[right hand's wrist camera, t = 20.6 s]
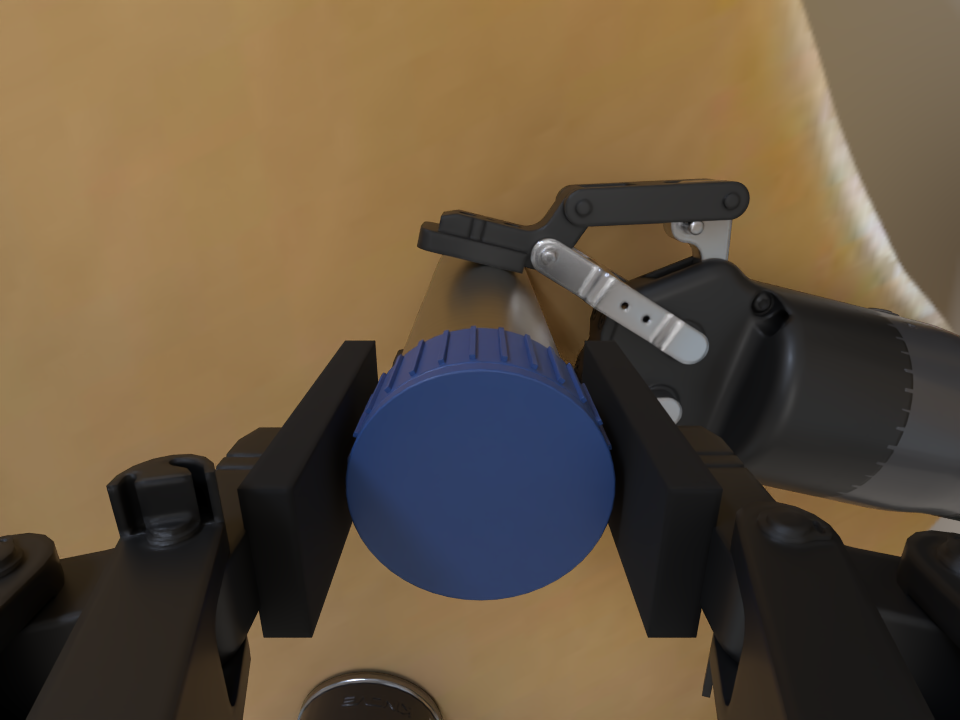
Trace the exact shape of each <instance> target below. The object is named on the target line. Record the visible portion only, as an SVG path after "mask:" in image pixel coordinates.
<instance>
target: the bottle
mask: <svg viewBox="0 0 960 720" xmlns="http://www.w3.org/2000/svg"><path fill="white" fill-rule="evenodd" d="M471 326H476V328H490V329H498V328H499V327H503V328H504V330H505V331H510V332H514V333H517V334H520V335H523V336H525V334H528V335H530V337H531V339H532V340H534V341H536V342H538V343H540V344H542V345H543V346H545V347H546V348H548V347H549V346H550V347H552V348H553V349H554V352H555V354H556V355H557V356H558V357H559V358H560V355H559V353H558V350H557V348H556V345H555V343H554V340H553V338H552V335H551V333H550V330H549V328H548V325H547V323H546V320H545V318H544V315H543V312H542V310H541V307H540V305H539V302H538V300H537V297H536V295H535V292H534V290H533V287H532V285H531V282H530V280H529V277H528V275H527V272H526V270H525V267H524V269H523V273H522V274H521V273H517V272H513V271H508V270H504V269H501V268H497V267H493V266H488V265H484V264H479V263H475V262H471V261H467V260H463V259H459V258H455V257H450V256H446V255H443V256H442V257H441V259H440V260H439V262H438V264H437V267H436V270H435V272H434V275H433V277H432V280H431V282H430V285H429V287H428V290H427V292H426V295H425V297H424V300H423V302H422V305H421V307H420V310H419V312H418V315H417V318H416V320H415V323H414V325H413V328H412V330H411V333H410V335H409V338H408V340H407V343H406V345H405V348H404V350H403V353H402V355H403V356H404V355H405V354H406V353H408V352H409V351H410V350H412V349H413V348H415V347H416V346H418V343H419V341H421V340H424V341H427V340H429V339H431V338H433V337H435V336H438V335H441V334H443V332H444V331H445V330H449V332H451V331H456V330H462V329H471Z"/></svg>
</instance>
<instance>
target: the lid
mask: <svg viewBox="0 0 960 720" xmlns="http://www.w3.org/2000/svg"><path fill="white" fill-rule="evenodd" d="M602 424H603V422H602V420H601V418H600V416H599V413H598V411H597V409H596V407H595V405H594V403H593V400H592V398H591V396H590V394H589V392H588V389H587V387H586V385H585V383H582V384H580V382H579V380H578V378H577V375H576V373H575V371H574V369H573V366H572V365H571V364H570V363H568V364H567V365H566V363H565V362H564V361H563V360H562V359H561V358H559V357H558V356H557V355H556V354H555V352H554V349H553V348H552V347H550V346H549V347H548V348H546V347H545V346H543V345H542V344H540V343H538V342H536V341H534V340H532V339H531V337H530V335H528V334H525V336H523V335H520V334H517V333H514V332H510V331H505V330H504V328H503V327H499V328H498V329H490V328H476V326H471V329H462V330H456V331H451V332H449V330H445V331H444V332H443V334H441V335H438V336H435V337H433V338H431V339H429V340H427V341H424V340H421V341H419V343H418V346H416V347H415V348H413V349H412V350H410V351H409V352H408V353H406V354H405V355H404V356H403V355H402V354H400V355H399V356H398V357H397V360H396V362H395V364H394V366H393V367H392V368H391V369H390V370H389V372H388V373H387V374H385V373H383V374H382V375H381V377H380V380H379V382H378V384H377V386H376V388H375V391H374V393H373V394H371V396H370V399H369V401H368V403H367V405H366V407H365V410H364V412H363V414H362V416H361V418H360V420H359V423H358V425H357V427H356V429H355V431H354V434H353V437H355V438H356V440H355V442H354V445H353V447H352V449H351V451H350V454H349V456H348V459H347V463H348V464H347V472H346V497H347V503H348V508H349V512H350V514H351V517H352V520H353V523H354V526H355V528H356V530H357V532H358V533H359V535H360V537H361V539H362V540H363V542H364V543H365V545H366V546H367V548H368V549H369V550H370V551H371V553H372V554H373V555H374V556H375V557H376V558H377V559H378V560H379V561H380V562H381V563H382V564H383V565H384V566H386V567H387V568H388V569H389V570H390V571H391V572H393V573H394V574H396V575H397V576H399V577H400V578H402V579H403V580H405V581H407V582H409V583H411V584H413V585H415V586H417V587H419V588H422V589H424V590H427V591H429V592H432V593H435V594H439V595H443V596H447V597H452V598H458V599H465V600H497V599H503V598H510V597H515V596H518V595H522V594H526V593H529V592H532V591H534V590H537V589H540V588H542V587H544V586H546V585H548V584H550V583H552V582H554V581H556V580H558V579H559V578H561V577H562V576H564V575H565V574H567V573H568V572H570V571H571V570H572V569H573V568H574V567H576V566H577V565H578V564H579V563H580V562H581V561H582V560H583V559H584V558H585V557H586V556H587V555H588V554H589V553H590V552H591V551H592V549H593V548H594V546H595V545H596V544H597V542H598V541H599V539H600V538H601V536H602V534H603V532H604V530H605V528H606V526H607V524H608V521H609V518H610V515H611V512H612V509H613V504H614V498H615V483H616V478H615V470H614V463H613V460H612V456H611V453H610V450H612V447H611V444H610V441H609V439H608V437H607V435H606V432H605V430H604V428H603V426H602Z"/></svg>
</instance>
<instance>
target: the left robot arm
mask: <svg viewBox="0 0 960 720" xmlns="http://www.w3.org/2000/svg"><path fill="white" fill-rule="evenodd" d="M749 199H750V197H749V192H748V189H747V188H746V187H745V186H744V185H743V184H742V183H739V182H734V181H724V180H714V179H686V180H665V181H643V182H622V183H601V184H580V185H568V186H566V187H564V188H562V189H561V190H560V191H559V193H558V194H557V197H556V201H555V202H554V204H553V205H552V207H551V208H550V209H549V211H548V212H547V214H546V215H545V217H544V218H543V219H542V220H541V221H540V222H538V223H536V224H534V225H530V226H523V225H518V224H514V223H510V222H506V221H502V220H498V219H494V218H490V217H486V216H482V215H478V214H474V213H470V212H466V211H462V210H453V211H446V212H443V214H442V216H441V220H440V224H438V223H433V222H424V223H423V224H422V225H421V229H420V234H419V239H418V244H417V247H419V248H421V249H423V250H426V251H430V252H434V253H438V254H442V255H446V256H450V257H455V258H459V259H463V260H467V261H471V262H475V263H479V264H484V265H488V266H493V267H497V268H501V269H504V270H508V271H513V272H517V273H521V274H522V273H523V269H524V267H527V268H531V269H535V270H537V271H538V272H540V273H541V274H543V275H544V276H546V277H548V278H549V279H551V280H553V281H554V282H556V283H557V284H559V285H561V286H562V287H564V288H566V289H567V290H569V291H570V292H572V293H574V294H575V295H577V296H578V297H580V298H581V299H582V300H584V301H585V302H586V303H587V304H589V305H590V306H592V307H593V312H592V315H591V318H590V336H589V340H588V341H615V342H616V343H617V344H618V346H619V347H620V348H621V350H622V351H623V353H624V354H625V355H626V357H627V358H628V359H629V361H630V362H631V363H632V365H633V366H634V368H635V369H636V370H637V372H638V373H639V374H640V376H641V377H642V379H643V380H644V381H645V383H646V384H647V385H648V387H649V388H650V390H651V391H652V392H653V394H654V395H655V396H656V398H657V399H658V400H659V402H660V403H661V405H662V406H663V407H664V409H665V410H666V411H667V413H668V414H669V416H670V417H671V418H672V420H673V421H674V422H675V424H676V425H677V426H702V427H704V428H705V429H707V430H709V431H711V432H712V433H714V434H716V435H717V436H719V437H721V438H722V439H723V440H724V442H725V443H726V444H727V445H728V446H729V447H730V449H731V450H732V451H733V452H734V455H736V456H737V457H738V458H739V459H740V460H741V461H742V463H743V464H744V468H748V470H749V471H750V472H751V473H752V474H753V475H754V477H755V478H756V479H757V480H758V481H759V482H760V484H761V485H765V486H770V487H774V488H779V489H784V490H788V491H793V492H798V493H803V494H807V495H812V496H816V497H821V498H826V499H830V500H835V501H840V502H844V503H849V504H853V505H858V506H862V507H867V508H873V509H879V510H887V511H897V512H915V513H924V514H931V515H934V516H939V517H943V518H948V519H953V520H957V521H960V336H959V335H957V334H954V333H952V332H949V331H947V330H944V329H942V328H939V327H937V326H933V325H930V324H927V323H923V322H919V321H915V320H911V319H907V318H904V317H900V316H899V315H897V314H895V313H892V312H891V311H888V310H883V309H877V308H864V307H860V306H856V305H852V304H848V303H844V302H839V301H835V300H831V299H827V298H823V297H819V296H815V295H811V294H807V293H803V292H799V291H795V290H791V289H787V288H783V287H779V286H775V285H771V284H767V283H763V282H759V281H755V280H752V279H749V278H748V277H747V276H746V275H744V274H743V272H742V271H741V270H740V269H739V268H738V267H737V266H736V265H735V264H733V263H731V262H730V261H728V254H729V245H730V236H731V227H732V219H735V218H738V217H739V216H741V215H742V214H743V213H744V212H745V210H746V209H747V207H748V204H749ZM655 223H663V227H664V230H665V232H666V234H667V235H668V236H670V237H671V238H673V239H676V240H678V241H680V242H684V243H688V244H689V245H690V247H691V249H692V253H693V256H691V257H688V258H686V259H683V260H681V261H678V262H676V263H673V264H671V265H668V266H665V267H663V268H660V269H658V270H655V271H653V272H650V273H648V274H645V275H642V276H640V277H637V278H635V279H632V280H630V281H628V280H626V279H625V278H623V277H622V276H620V275H618V274H617V273H615V272H614V271H612V270H611V269H609V268H607V267H606V266H604V265H603V264H601V263H600V262H598V261H596V260H595V259H593V258H591V257H590V256H588V255H586V254H584V253H583V252H581V251H580V250H578V249H576V248H575V247H574V245H575V244H576V243H577V241H578V240H579V239H580V237H581V236H582V234H583V233H584V232H585V230H586V229H587V227H589V226H611V225H633V224H655ZM403 350H404V349H402V350H399V351H398V353H397V355H396V357H395V360H394V362H393V366H394V364H395V362H396V360H397V357H398V356H399V355H400V354H402V353H403ZM583 359H584V347H583V349H582V350H581V352H580V354H579V355H578V358H577V361H576V364H575V366H573V369H574V371H575V373H576V375H577V378H578V380H579V382H580V384H582V374H583ZM298 720H442V718H441V714H440V711H439V709H438V707H437V706H436V704H435V702H434V701H433V700H432V699H431V697H430V696H429V695H428V694H427V693H425V692H424V691H423V690H422V689H420V688H419V687H418V686H416V685H414V684H413V683H411V682H409V681H407V680H404V679H402V678H399V677H396V676H393V675H389V674H384V673H377V672H356V673H349V674H344V675H340V676H337V677H334V678H332V679H329V680H327V681H325V682H323V683H322V684H320V685H319V686H317V687H316V688H315V689H314V690H313V691H312V692H311V693H310V694H309V695H308V696H307V698H306V699H305V701H304V703H303V705H302V707H301V710H300V713H299V716H298Z"/></svg>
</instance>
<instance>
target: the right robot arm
mask: <svg viewBox="0 0 960 720" xmlns="http://www.w3.org/2000/svg"><path fill="white" fill-rule="evenodd" d="M582 383H585V385H586V387H587V389H588V392H589V394H590V396H591V398H592V400H593V403H594V405H595V407H596V409H597V411H598V413H599V416H600V418H601V420H602V422H603V424H602V426H603V428H604V430H605V432H606V435H607V437H608V439H609V441H610V444H611V447H612V450H610V453H611V456H612V460H613V463H614V470H615V478H616V483H615V498H614V504H613V509H612V512H611V515H610V518H609V521H608V524H609V527H610V530H611V533H612V536H613V539H614V541H615V544H616V547H617V550H618V553H619V556H620V559H621V561H622V564H623V567H624V570H625V573H626V576H627V579H628V582H629V584H630V587H631V590H632V593H633V596H634V599H635V602H636V604H637V607H638V610H639V613H640V616H641V619H642V622H643V625H644V627H645V630H646V633H647V636H648V638H696V636H697V631H698V625H699V620H700V614H701V609H702V610H703V612H704V614H705V616H706V618H707V620H708V622H709V624H710V626H711V628H712V630H713V632H714V633H713V638H712V643H711V648H710V653H709V659H708V664H707V669H706V674H705V679H704V685H703V692H702V696H705V697H709V698H710V694H711V690H712V685H713V689H714V697H715V704H716V711H717V719H718V720H960V534H957V533H949V532H941V531H933V530H930V531H922V532H916V533H914V534H913V535H912V536H910V537H909V538H908V539H907V541H906V544H905V547H904V550H903V553H902V556H901V557H899V556H893V555H888V554H883V553H878V552H873V551H868V550H863V549H858V548H853V547H849V546H846V545H844V544H843V542H842V540H841V538H840V537H839V535H838V534H837V533H836V532H835V531H834V529H833V528H832V527H831V526H830V525H829V524H828V523H826V522H825V521H823V520H822V519H820V518H819V517H817V516H816V515H814V514H812V513H810V512H807V511H805V510H803V509H800V508H798V507H796V506H791V505H787V504H783V503H779V502H776V501H775V500H774V499H773V498H772V496H771V495H770V494H769V493H768V492H767V491H766V489H765V488H764V487H763V486H762V485H761V484H760V482H759V481H758V480H757V479H756V478H755V477H754V475H753V474H752V473H751V472H750V471H749V470H748V468H744V464H743V463H742V461H741V460H740V459H739V458H738V457H737V456H736V455H734V452H733V451H732V450H731V449H730V447H729V446H728V445H727V444H726V443H725V442H724V440H723V439H722V438H721V437H719V436H717V435H716V434H714V433H712V432H711V431H709V430H707V429H705V428H704V427H702V426H677V425H676V424H675V422H674V421H673V420H672V418H671V417H670V416H669V414H668V413H667V411H666V410H665V409H664V407H663V406H662V405H661V403H660V402H659V400H658V399H657V398H656V396H655V395H654V394H653V392H652V391H651V390H650V388H649V387H648V385H647V384H646V383H645V381H644V380H643V379H642V377H641V376H640V374H639V373H638V372H637V370H636V369H635V368H634V366H633V365H632V363H631V362H630V361H629V359H628V358H627V357H626V355H625V354H624V353H623V351H622V350H621V348H620V347H619V346H618V344H617V343H616V342H615V341H585V345H584V359H583V374H582ZM377 384H378V374H377V359H376V345H375V341H345V342H344V343H343V344H342V346H341V347H340V348H339V350H338V351H337V352H336V354H335V355H334V357H333V358H332V359H331V361H330V362H329V363H328V365H327V366H326V368H325V369H324V370H323V372H322V373H321V374H320V376H319V377H318V379H317V380H316V381H315V383H314V384H313V385H312V387H311V388H310V390H309V391H308V392H307V394H306V395H305V396H304V398H303V399H302V400H301V402H300V403H299V405H298V406H297V407H296V409H295V410H294V411H293V413H292V414H291V416H290V417H289V418H288V420H287V421H286V422H285V424H284V425H283V427H282V428H258V429H256V430H255V431H253V432H251V433H250V434H248V435H246V436H245V437H243V438H241V439H239V440H238V441H237V443H236V444H235V445H234V446H233V447H232V449H231V450H230V451H229V452H228V453H227V456H226V457H224V458H223V459H222V460H221V461H220V463H219V464H218V465H217V466H216V470H215V468H214V463H213V462H211V461H210V460H209V459H207V458H206V457H203V456H198V455H193V454H181V455H170V456H165V457H160V458H155V459H151V460H149V461H146V462H143V463H140V464H138V465H135V466H133V467H131V468H129V469H127V470H126V471H124V472H122V473H120V474H119V475H117V476H116V477H115V478H114V479H113V480H112V481H111V482H110V483H109V484H108V485H107V486H106V487H107V491H108V494H109V498H110V502H111V505H112V509H113V512H114V516H115V520H116V523H117V527H118V530H119V534H120V539H119V541H118V543H117V545H116V547H115V548H113V549H109V550H105V551H100V552H95V553H90V554H85V555H80V556H75V557H70V558H65V559H59V556H58V553H57V550H56V547H55V544H54V541H52V540H51V539H50V538H48V537H47V536H46V535H42V534H34V533H25V534H17V535H7V536H2V537H0V720H243V713H244V705H245V698H246V691H247V683H248V676H249V669H250V661H251V657H250V649H249V643H248V638H247V633H248V631H249V629H250V627H251V625H252V623H253V621H254V619H255V617H256V615H257V613H258V611H259V614H260V620H261V625H262V631H263V636H264V638H312V636H313V633H314V630H315V627H316V625H317V622H318V619H319V616H320V613H321V610H322V607H323V604H324V602H325V599H326V596H327V593H328V590H329V587H330V584H331V582H332V579H333V576H334V573H335V570H336V567H337V564H338V561H339V559H340V556H341V553H342V550H343V547H344V544H345V541H346V539H347V536H348V533H349V530H350V527H351V524H352V521H353V520H352V517H351V514H350V512H349V508H348V503H347V497H346V472H347V464H348V463H347V459H348V456H349V454H350V451H351V449H352V447H353V445H354V442H355V440H356V438H355V437H353V434H354V431H355V429H356V427H357V425H358V423H359V420H360V418H361V416H362V414H363V412H364V410H365V407H366V405H367V403H368V401H369V399H370V396H371V394H373V393H374V391H375V388H376V386H377Z"/></svg>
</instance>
